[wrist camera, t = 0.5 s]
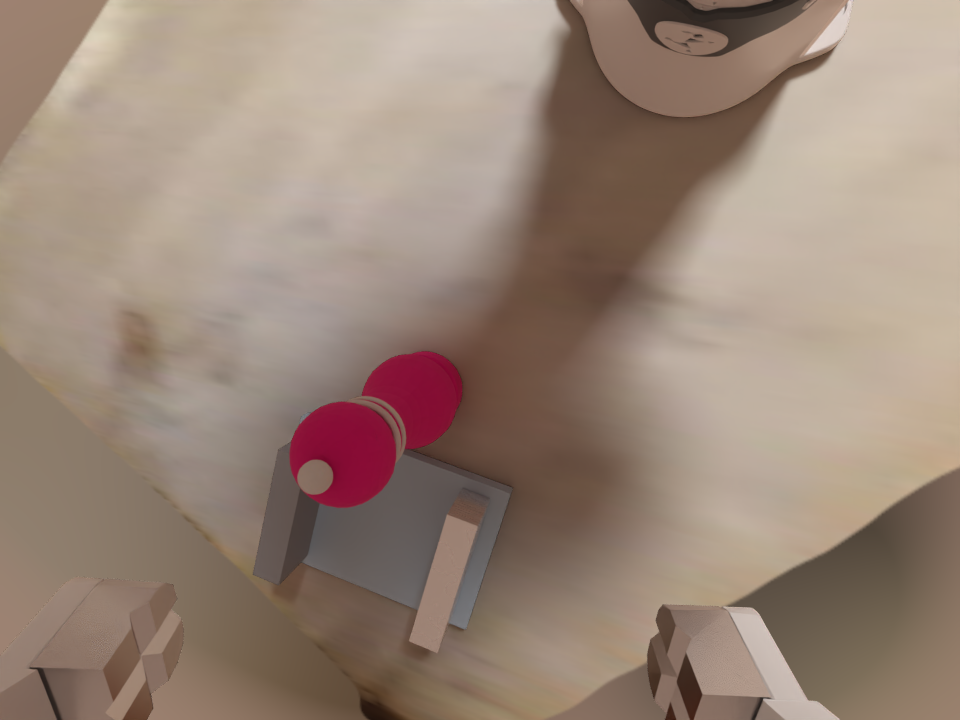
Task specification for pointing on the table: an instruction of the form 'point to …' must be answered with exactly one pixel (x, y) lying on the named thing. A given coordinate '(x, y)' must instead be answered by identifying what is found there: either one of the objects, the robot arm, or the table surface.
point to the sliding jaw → (449, 569)
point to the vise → (378, 530)
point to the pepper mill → (374, 429)
